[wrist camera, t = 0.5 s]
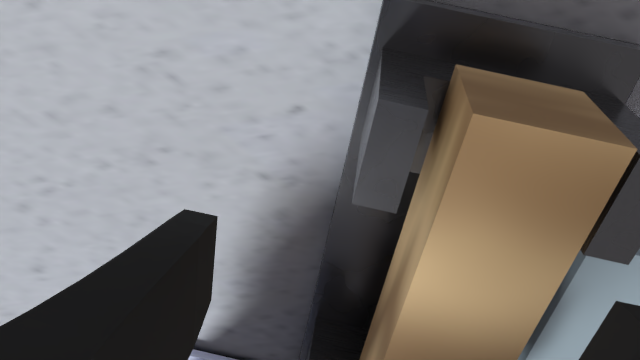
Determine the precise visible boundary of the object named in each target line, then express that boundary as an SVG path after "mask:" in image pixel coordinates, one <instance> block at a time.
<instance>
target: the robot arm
mask: <svg viewBox="0 0 640 360" xmlns="http://www.w3.org/2000/svg"><path fill="white" fill-rule="evenodd" d="M217 217H218V216H214V215H209V214H204V213H200V212H195V211H190V210H183V211H181V212H180V213H178V214H177V215H175V216H174V217H172V218H171V219H169V220H168V221H166V222H165V223H164V224H162V225H161V226H159V227H158V228H157V229H155V230H154V231H152V232H151V233H150V234H148V235H147V236H145V237H144V238H142V239H141V240H140V241H138V242H137V243H135V244H134V245H132V246H131V247H129V248H128V249H127V250H125V251H124V252H122V253H121V254H119V255H118V256H116V257H115V258H113V259H112V260H110V261H109V262H107V263H106V264H104V265H103V266H101V267H99V268H98V269H96V270H95V271H93V272H92V273H90V274H89V275H87V276H86V277H84V278H83V279H81V280H79V281H78V282H76V283H74V284H73V285H71V286H69V287H68V288H66V289H64V290H63V291H61V292H59V293H58V294H56V295H54V296H53V297H51V298H49V299H48V300H46V301H44V302H43V303H41V304H39V305H38V306H36V307H34V308H33V309H31V310H29V311H27V312H26V313H24V314H22V315H20V316H18V317H16V318H15V319H13V320H11V321H9V322H7V323H6V324H4V325H2V326H0V360H238V359H233V358H229V357H225V356H220V355H216V354H211V353H207V352H203V351H198V350H194V349H193V348H194V345H195V343H196V340H197V337H198V335H199V332H200V329H201V327H202V324H203V321H204V318H205V316H206V313H207V310H208V307H209V304H210V302H211V295H212V282H213V269H214V256H215V243H216V230H217ZM579 360H640V306H638V305H634V304H629V303H624V302H619V301H615V303H614V305H613V306H612V308H611V309H610V311H609V313H608V314H607V316H606V317H605V319H604V320H603V322H602V324H601V325H600V327H599V328H598V330H597V331H596V333H595V335H594V336H593V338H592V339H591V341H590V342H589V344H588V346H587V347H586V349H585V350H584V352H583V354H582V355H581V357H580V358H579Z"/></svg>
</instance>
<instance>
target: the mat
mask: <svg viewBox="0 0 640 360" xmlns="http://www.w3.org/2000/svg"><path fill="white" fill-rule="evenodd" d="M615 301H619V302H624V303H629V304H634V305H638V306H640V248H639V250H638V252H637V253H636V255H635V256H634V258H633V259H632V261H631V262H630V264H629V265H626V264H621V263H617V262H612V261H608V260H603V259H599V258H594V257H590V256H585V255H583V253H582V252H581V250H580V251H579V253H578V254H577V256H576V258H575V260H574V261H573V263H572V265H571V267H570V268H569V270H568V272H567V274H566V275H565V277H564V279H563V281H562V282H561V284H560V286H559V288H558V289H557V291H556V293H555V295H554V296H553V298H552V300H551V302H550V303H549V305H548V307H547V309H546V310H545V312H544V314H543V316H542V317H541V319H540V321H539V323H538V324H537V326H536V328H535V330H534V331H533V333H532V335H531V337H530V338H529V340H528V342H527V344H526V345H525V347H524V349H523V351H522V352H521V354H520V356H519V358H518V359H517V360H579V358H580V357H581V355H582V354H583V352H584V350H585V349H586V347H587V346H588V344H589V342H590V341H591V339H592V338H593V336H594V335H595V333H596V331H597V330H598V328H599V327H600V325H601V324H602V322H603V320H604V319H605V317H606V316H607V314H608V313H609V311H610V309H611V308H612V306H613V305H614V303H615Z"/></svg>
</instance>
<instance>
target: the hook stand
mask: <svg viewBox="0 0 640 360" xmlns="http://www.w3.org/2000/svg"><path fill="white" fill-rule="evenodd" d="M456 64H457V65H462V66H466V67H471V68H475V69H480V70H485V71H489V72H494V73H499V74H503V75H508V76H513V77H517V78H522V79H527V80H531V81H536V82H541V83H545V84H550V85H555V86H559V87H564V88H569V89H573V90H578V91H583V92H584V93H585V94H586V95H587V96H588V97H589V98H590V99H591V100H592V101H593V102H594V103H595V105H596V106H597V107H598V108H599V109H600V110H601V111H602V112H603V113H604V114H605V115H606V116H607V117H608V118H609V119H610V120H611V121H612V123H613V124H614V125H615V126H616V127H617V128H618V129H619V130H620V131H621V132H622V133H623V134H624V135H625V136H626V137H627V138H628V139H629V141H630V142H631V143H632V144H633V145H634V146H635V147H636V148H637V151H636V153H635V154H634V156H633V158H632V160H631V161H630V163H629V165H628V167H627V168H626V170H625V172H624V174H623V175H622V177H621V179H620V181H619V182H618V184H617V186H616V188H615V189H614V191H613V193H612V195H611V196H610V198H609V200H608V202H607V203H606V205H605V207H604V209H603V210H602V212H601V214H600V216H599V218H598V219H597V221H596V223H595V225H594V226H593V228H592V230H591V232H590V233H589V235H588V237H587V239H586V240H585V242H584V244H583V246H582V247H581V249H580V250H581V252H582V253H583V255H585V256H590V257H594V258H599V259H603V260H608V261H612V262H617V263H621V264H626V265H629V264H630V262H631V261H632V259H633V258H634V256H635V255H636V253H637V252H638V250H639V248H640V118H639V117H638V116H637V115H636V114H635V113H633V112H632V111H631V110H630V109H629V108H628V107H627V106H626V105H625V103H626V101H627V100H628V98H629V96H630V94H631V92H632V90H633V88H634V86H635V84H636V83H637V81H638V79H639V77H640V45H636V44H632V43H627V42H622V41H618V40H613V39H608V38H603V37H599V36H594V35H589V34H585V33H580V32H575V31H570V30H566V29H561V28H556V27H552V26H547V25H542V24H537V23H533V22H528V21H523V20H519V19H514V18H509V17H505V16H500V15H495V14H490V13H486V12H481V11H476V10H472V9H467V8H462V7H457V6H453V5H448V4H443V3H439V2H434V1H429V0H383V2H382V6H381V10H380V15H379V19H378V23H377V28H376V32H375V36H374V40H373V45H372V49H371V53H370V58H369V62H368V66H367V71H366V75H365V79H364V83H363V88H362V92H361V96H360V101H359V105H358V109H357V113H356V118H355V122H354V126H353V131H352V135H351V139H350V143H349V148H348V152H347V156H346V161H345V165H344V169H343V173H342V178H341V182H340V186H339V191H338V195H337V199H336V203H335V208H334V212H333V216H332V221H331V225H330V229H329V233H328V238H327V242H326V246H325V251H324V255H323V259H322V263H321V268H320V272H319V276H318V281H317V285H316V289H315V293H314V298H313V302H312V306H311V311H310V315H309V319H308V323H307V328H306V332H305V336H304V341H303V345H302V349H301V353H300V358H299V360H359V359H360V356H361V353H362V350H363V347H364V344H365V341H366V338H367V335H368V332H369V329H370V326H371V322H372V319H373V316H374V313H375V310H376V307H377V304H378V301H379V298H380V295H381V292H382V289H383V286H384V283H385V280H386V277H387V273H388V270H389V267H390V264H391V261H392V258H393V255H394V252H395V249H396V246H397V243H398V240H399V237H400V234H401V231H402V228H403V224H404V221H405V218H406V215H407V212H408V209H409V206H410V203H411V200H412V197H413V194H414V191H415V188H416V185H417V182H418V179H419V175H420V172H421V169H422V166H423V163H424V160H425V157H426V154H427V151H428V148H429V145H430V142H431V139H432V136H433V133H434V129H435V126H436V123H437V120H438V117H439V114H440V111H441V108H442V105H443V102H444V99H445V96H446V93H447V90H448V87H449V84H450V80H451V77H452V74H453V71H454V68H455V65H456Z"/></svg>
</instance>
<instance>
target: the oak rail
mask: <svg viewBox="0 0 640 360" xmlns="http://www.w3.org/2000/svg"><path fill="white" fill-rule="evenodd" d="M636 151H637V148H636V147H635V146H634V145H633V144H632V143H631V142H630V141H629V139H628V138H627V137H626V136H625V135H624V134H623V133H622V132H621V131H620V130H619V129H618V128H617V127H616V126H615V125H614V124H613V123H612V121H611V120H610V119H609V118H608V117H607V116H606V115H605V114H604V113H603V112H602V111H601V110H600V109H599V108H598V107H597V106H596V105H595V103H594V102H593V101H592V100H591V99H590V98H589V97H588V96H587V95H586V94H585V93H584V92H583V91H578V90H573V89H569V88H564V87H559V86H555V85H550V84H545V83H541V82H536V81H531V80H527V79H522V78H517V77H513V76H508V75H503V74H499V73H494V72H489V71H485V70H480V69H475V68H471V67H466V66H462V65H457V64H456V65H455V68H454V71H453V74H452V77H451V80H450V84H449V87H448V90H447V93H446V96H445V99H444V102H443V105H442V108H441V111H440V114H439V117H438V120H437V123H436V126H435V129H434V133H433V136H432V139H431V142H430V145H429V148H428V151H427V154H426V157H425V160H424V163H423V166H422V169H421V172H420V175H419V179H418V182H417V185H416V188H415V191H414V194H413V197H412V200H411V203H410V206H409V209H408V212H407V215H406V218H405V221H404V224H403V228H402V231H401V234H400V237H399V240H398V243H397V246H396V249H395V252H394V255H393V258H392V261H391V264H390V267H389V270H388V273H387V277H386V280H385V283H384V286H383V289H382V292H381V295H380V298H379V301H378V304H377V307H376V310H375V313H374V316H373V319H372V322H371V326H370V329H369V332H368V335H367V338H366V341H365V344H364V347H363V350H362V353H361V356H360V359H359V360H517V359H518V358H519V356H520V354H521V352H522V351H523V349H524V347H525V345H526V344H527V342H528V340H529V338H530V337H531V335H532V333H533V331H534V330H535V328H536V326H537V324H538V323H539V321H540V319H541V317H542V316H543V314H544V312H545V310H546V309H547V307H548V305H549V303H550V302H551V300H552V298H553V296H554V295H555V293H556V291H557V289H558V288H559V286H560V284H561V282H562V281H563V279H564V277H565V275H566V274H567V272H568V270H569V268H570V267H571V265H572V263H573V261H574V260H575V258H576V256H577V254H578V253H579V251H580V249H581V247H582V246H583V244H584V242H585V240H586V239H587V237H588V235H589V233H590V232H591V230H592V228H593V226H594V225H595V223H596V221H597V219H598V218H599V216H600V214H601V212H602V210H603V209H604V207H605V205H606V203H607V202H608V200H609V198H610V196H611V195H612V193H613V191H614V189H615V188H616V186H617V184H618V182H619V181H620V179H621V177H622V175H623V174H624V172H625V170H626V168H627V167H628V165H629V163H630V161H631V160H632V158H633V156H634V154H635V153H636Z"/></svg>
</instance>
